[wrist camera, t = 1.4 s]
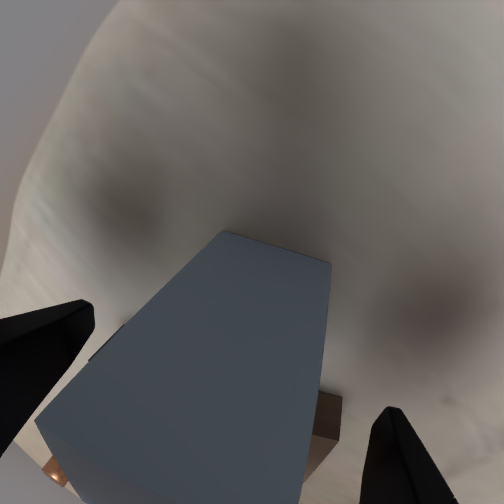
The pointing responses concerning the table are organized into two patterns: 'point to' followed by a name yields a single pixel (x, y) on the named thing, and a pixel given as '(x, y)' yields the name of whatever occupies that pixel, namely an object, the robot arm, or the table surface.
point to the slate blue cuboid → (202, 386)
